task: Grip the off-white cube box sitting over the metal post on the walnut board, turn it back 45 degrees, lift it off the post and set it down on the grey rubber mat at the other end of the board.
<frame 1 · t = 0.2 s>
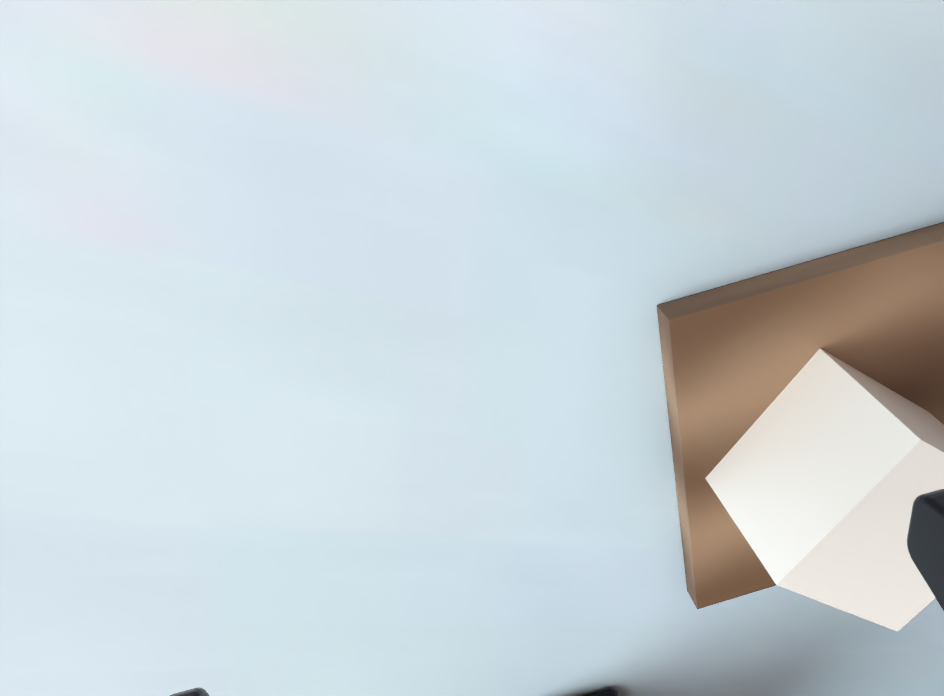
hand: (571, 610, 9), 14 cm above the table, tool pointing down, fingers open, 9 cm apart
off-white cube box: (817, 444, 28), point 1 cm above the table, touching post stand
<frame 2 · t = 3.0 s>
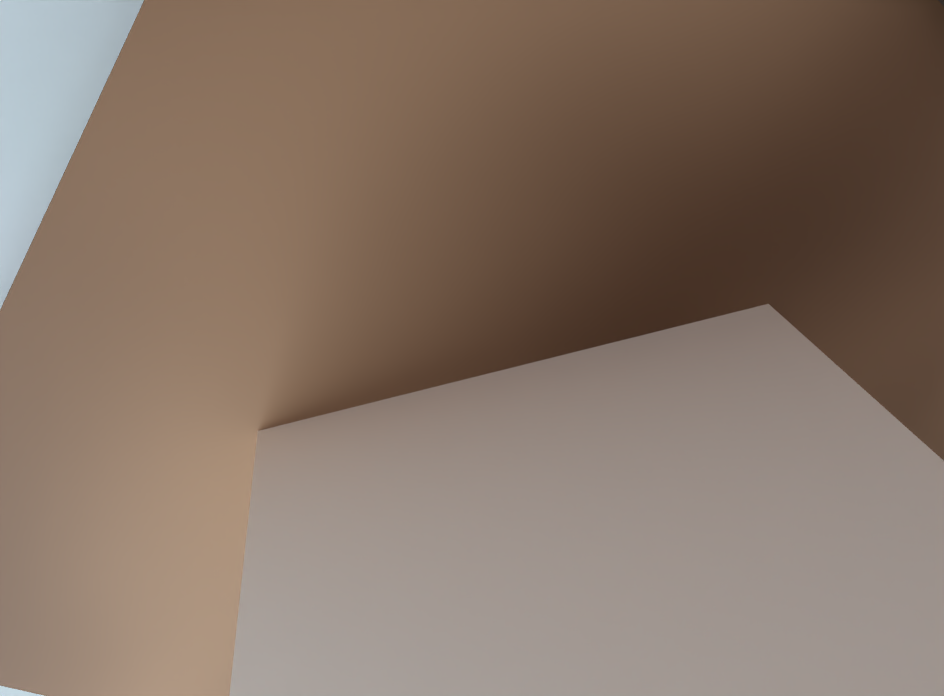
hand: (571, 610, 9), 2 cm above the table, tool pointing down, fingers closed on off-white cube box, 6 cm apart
post stand: (827, 151, 9), on the table
off-white cube box: (550, 550, 10), point 1 cm above the table, touching gripper, post stand
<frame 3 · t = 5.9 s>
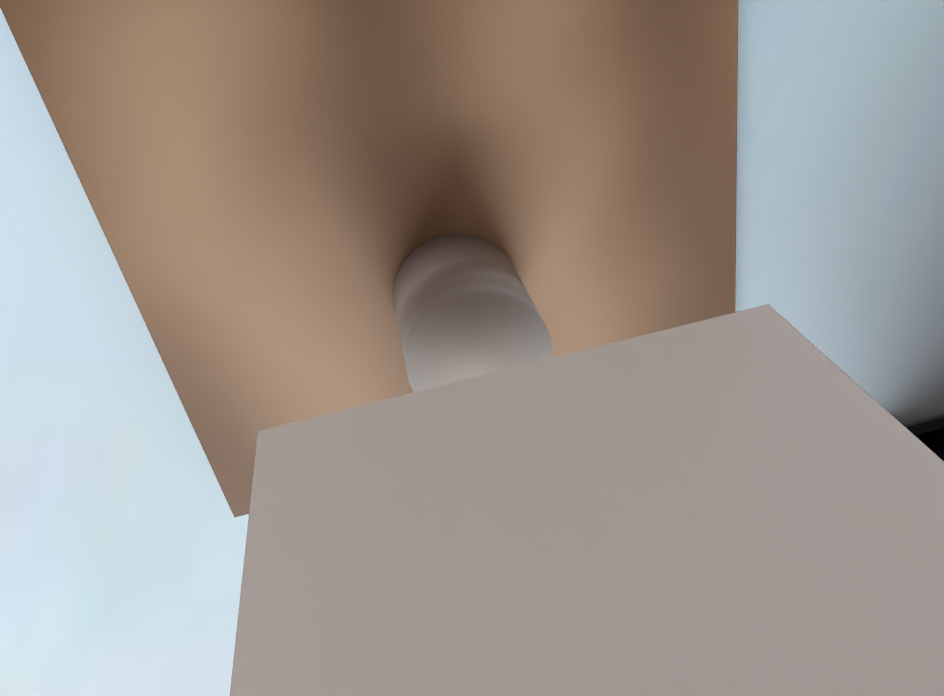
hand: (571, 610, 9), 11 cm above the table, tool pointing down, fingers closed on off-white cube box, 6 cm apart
post stand: (396, 19, 16), on the table
off-white cube box: (550, 550, 10), point 10 cm above the table, touching gripper
when the fingers open (3 cm above the table, at t = 9.2 s): off-white cube box drops 1 cm, resting on post stand.
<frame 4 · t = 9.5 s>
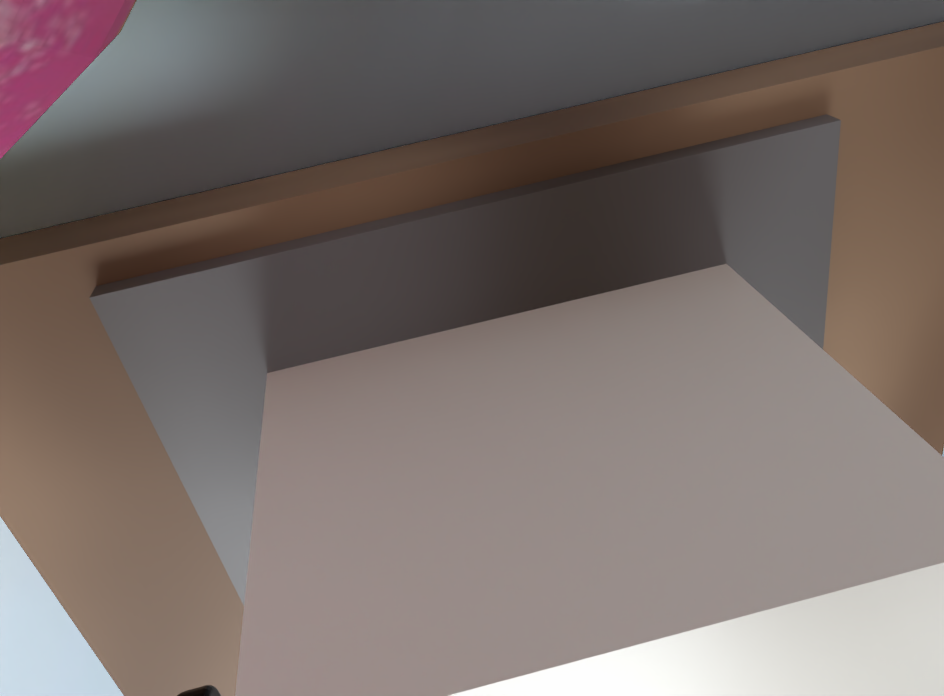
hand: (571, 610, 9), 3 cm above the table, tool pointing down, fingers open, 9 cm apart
post stand: (553, 667, 16), on the table
off-white cube box: (531, 492, 11), point 1 cm above the table, touching post stand
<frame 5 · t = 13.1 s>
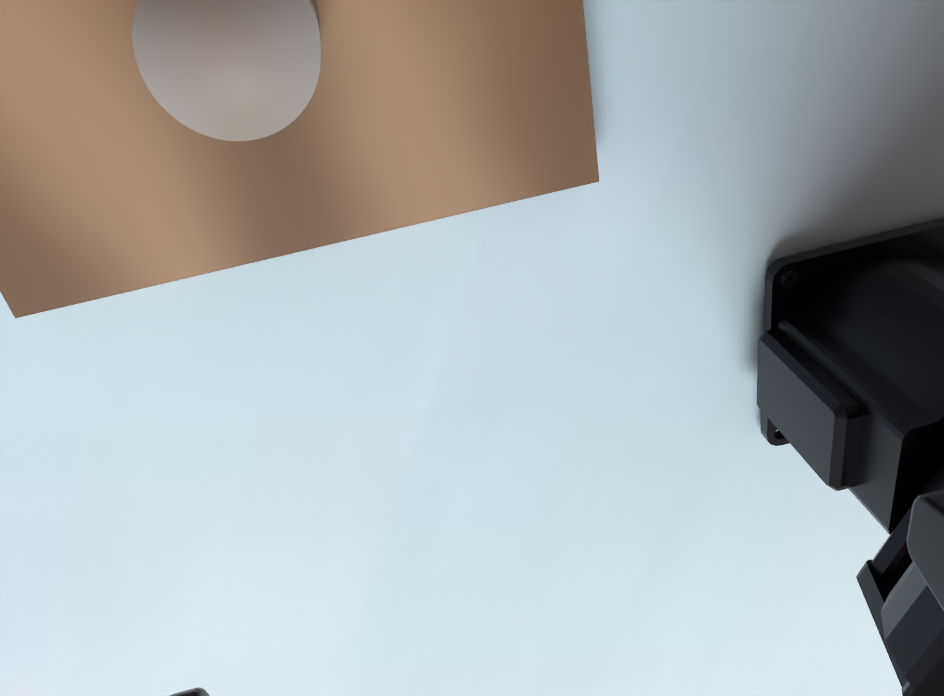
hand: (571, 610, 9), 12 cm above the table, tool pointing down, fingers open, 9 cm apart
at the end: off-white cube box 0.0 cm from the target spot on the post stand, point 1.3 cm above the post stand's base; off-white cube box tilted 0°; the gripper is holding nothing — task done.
